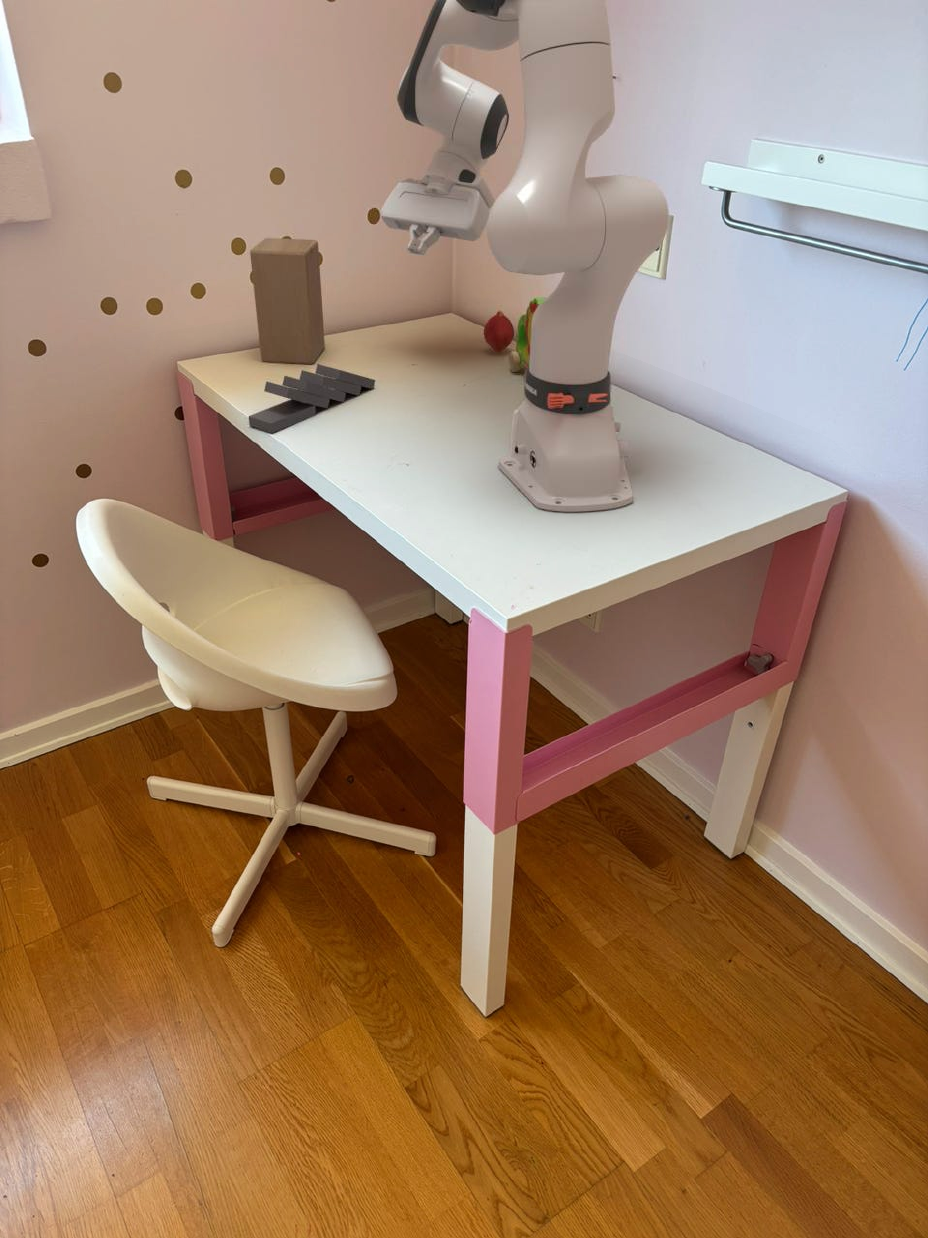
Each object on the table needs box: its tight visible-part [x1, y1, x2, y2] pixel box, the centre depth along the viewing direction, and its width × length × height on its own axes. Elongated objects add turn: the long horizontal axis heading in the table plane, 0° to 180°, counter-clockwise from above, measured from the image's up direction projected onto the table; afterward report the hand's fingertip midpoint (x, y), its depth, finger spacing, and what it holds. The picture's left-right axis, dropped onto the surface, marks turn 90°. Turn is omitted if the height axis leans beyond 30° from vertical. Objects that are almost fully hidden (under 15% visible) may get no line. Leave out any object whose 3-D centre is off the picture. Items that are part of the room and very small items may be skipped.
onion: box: [483, 310, 515, 353], centre depth 181 cm, size 6×6×8 cm
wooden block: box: [249, 237, 326, 365], centre depth 175 cm, size 10×10×20 cm
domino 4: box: [299, 369, 362, 396], centre depth 160 cm, size 2×5×10 cm
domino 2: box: [248, 399, 316, 434], centre depth 153 cm, size 2×5×10 cm
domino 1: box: [263, 381, 331, 409], centre depth 154 cm, size 2×5×10 cm
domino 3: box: [282, 375, 347, 403], centre depth 157 cm, size 2×5×10 cm
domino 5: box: [315, 363, 376, 390], centre depth 163 cm, size 2×5×10 cm
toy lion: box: [508, 297, 547, 380], centre depth 166 cm, size 16×5×15 cm, turn 14°
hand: (415, 252), depth 165 cm, fingers closed
